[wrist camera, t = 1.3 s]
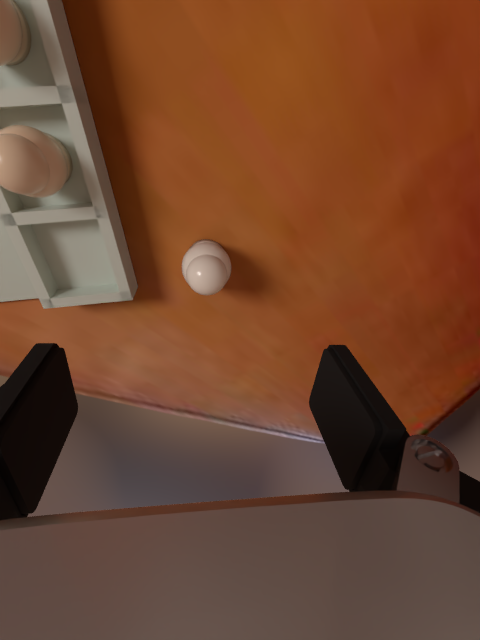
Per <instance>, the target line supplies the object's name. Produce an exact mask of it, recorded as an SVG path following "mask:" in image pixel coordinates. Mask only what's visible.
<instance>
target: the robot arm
mask: <svg viewBox="0 0 480 640" xmlns="http://www.w3.org/2000/svg"><path fill="white" fill-rule="evenodd" d="M309 405H310V409H311V411H312V414H313V416H314V418H315V421H316V423H317V425H318V428H319V430H320V432H321V435H322V437H323V439H324V442H325V444H326V446H327V449H328V451H329V454H330V456H331V458H332V461H333V463H334V465H335V468H336V470H337V472H338V475H339V477H340V479H341V482H342V484H343V486H344V488H345V489H347V490H348V489H349V491H350V492H340V493H325V494H309V495H295V496H281V497H267V498H255V499H254V498H253V499H241V500H226V501H213V502H201V503H187V504H174V505H161V506H150V507H138V508H124V509H112V510H101V511H87V512H75V513H65V514H54V515H44V516H34V517H27V516H28V514H29V513H33V512H34V511H35V510H36V508H37V506H38V503H39V501H40V499H41V496H42V494H43V492H44V489H45V487H46V485H47V482H48V480H49V478H50V475H51V473H52V471H53V469H54V466H55V464H56V461H57V459H58V457H59V455H60V452H61V450H62V448H63V445H64V443H65V441H66V438H67V436H68V434H69V431H70V429H71V427H72V425H73V422H74V420H75V417H76V415H77V411H78V403H77V400H76V395H75V391H74V387H73V383H72V379H71V375H70V371H69V367H68V362H67V358H66V354H65V351H64V349H63V348H59V346H58V345H57V344H55V343H38V344H36V345H35V346H34V347H33V348H32V349H31V351H30V352H29V353H28V354H27V356H26V357H25V358H24V360H23V361H22V362H21V363H20V365H19V366H18V367H17V369H16V370H15V371H14V372H13V374H12V375H11V376H10V378H9V379H8V380H7V381H6V383H5V384H3V385H2V386H1V387H0V640H480V482H479V481H477V480H476V479H474V478H472V477H470V476H468V475H466V474H464V473H463V472H461V471H459V465H458V461H457V460H456V458H455V456H454V455H453V454H452V453H451V451H450V450H449V449H448V448H447V447H445V446H444V445H443V444H441V443H440V442H438V441H436V440H435V439H433V438H430V437H427V436H424V435H412V436H410V435H409V434H408V432H407V431H406V428H405V426H404V425H403V424H402V422H401V421H400V419H399V418H398V417H397V415H396V414H395V413H394V411H393V410H392V408H391V407H390V406H389V404H388V403H387V402H386V400H385V399H384V397H383V396H382V395H381V393H380V392H379V391H378V389H377V388H376V386H375V385H374V384H373V382H372V381H371V380H370V378H369V377H368V375H367V374H366V373H365V371H364V370H363V369H362V367H361V366H360V364H359V363H358V362H357V360H356V359H355V358H354V356H353V355H352V353H351V352H350V351H349V349H348V348H347V347H346V346H345V345H329V347H328V348H327V349H324V351H323V354H322V357H321V361H320V364H319V368H318V371H317V375H316V378H315V382H314V385H313V388H312V392H311V395H310V399H309Z"/></svg>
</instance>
